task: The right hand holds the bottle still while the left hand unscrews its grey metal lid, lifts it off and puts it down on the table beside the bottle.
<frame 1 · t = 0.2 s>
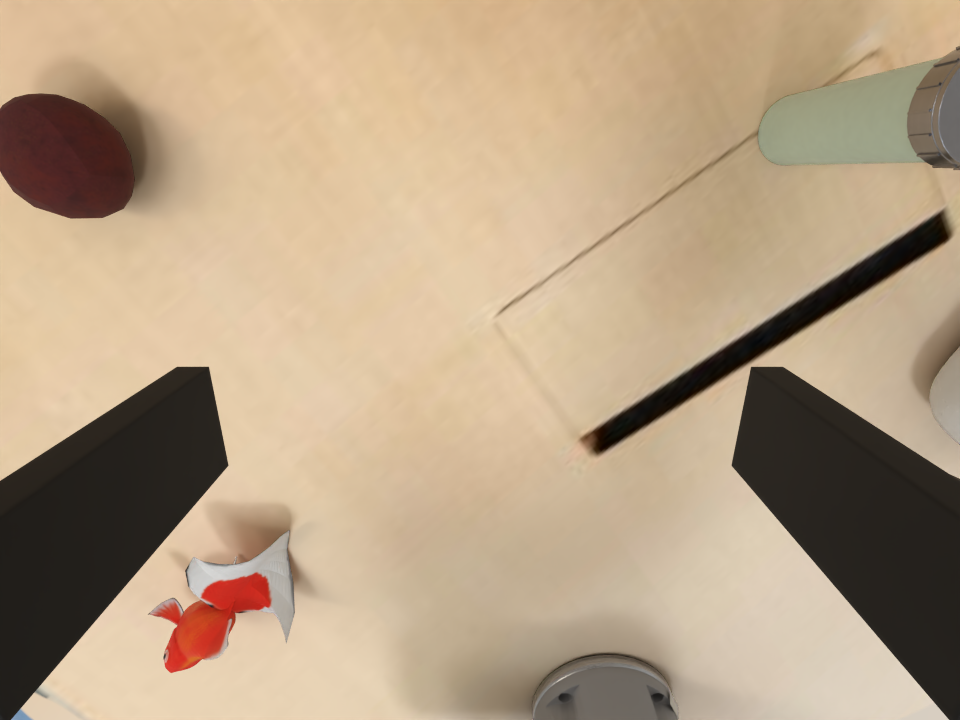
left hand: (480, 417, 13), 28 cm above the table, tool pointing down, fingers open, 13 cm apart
fish: (246, 566, 49), on the table
potato: (106, 162, 37), on the table
bottle: (790, 130, 36), on the table
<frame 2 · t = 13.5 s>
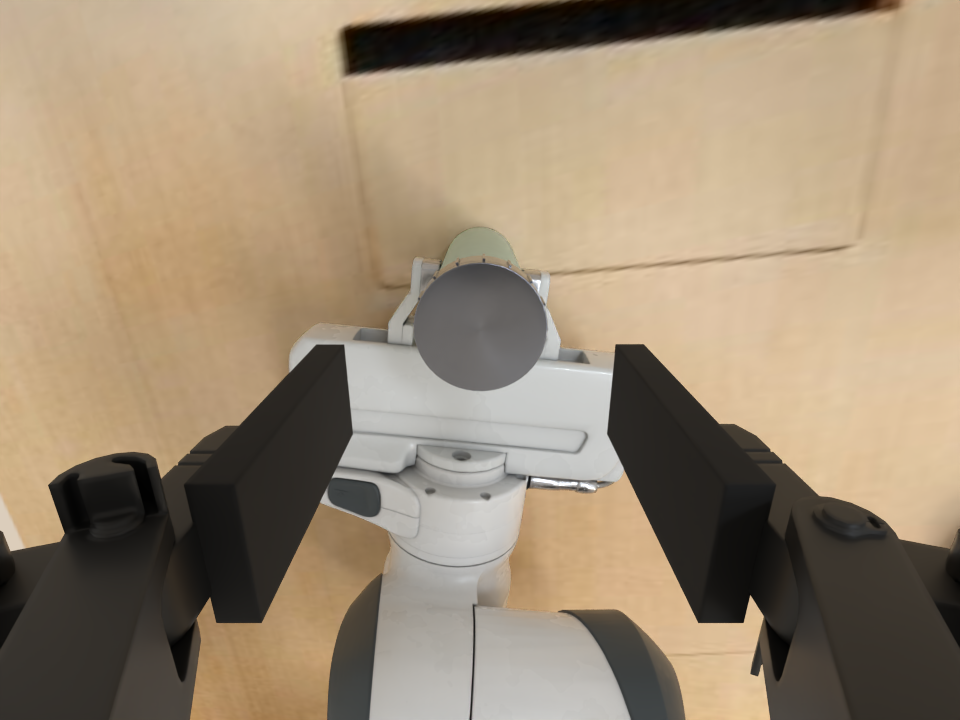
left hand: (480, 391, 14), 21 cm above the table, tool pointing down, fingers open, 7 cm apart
right hand: (481, 265, 28), fingers closed on bottle, 4 cm apart
lid: (480, 327, 20), point 15 cm above the table, screwed on, not yet turned
bottle: (480, 262, 34), on the table, touching right hand
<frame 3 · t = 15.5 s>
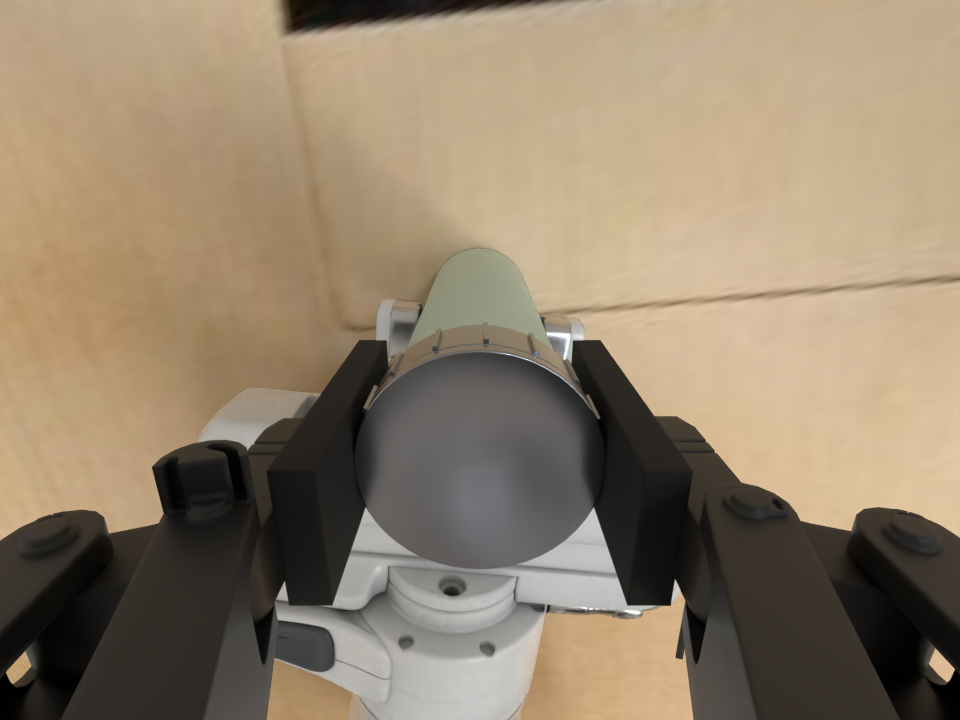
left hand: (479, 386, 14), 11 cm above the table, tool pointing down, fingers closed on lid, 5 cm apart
lid: (479, 460, 11), point 15 cm above the table, screwed on, not yet turned, touching left hand
bottle: (479, 295, 25), on the table, touching right hand
when the left hand's fingers open (11 cm above the table, at t = 16.8 s): lid stays where it is, point 15 cm above the table.
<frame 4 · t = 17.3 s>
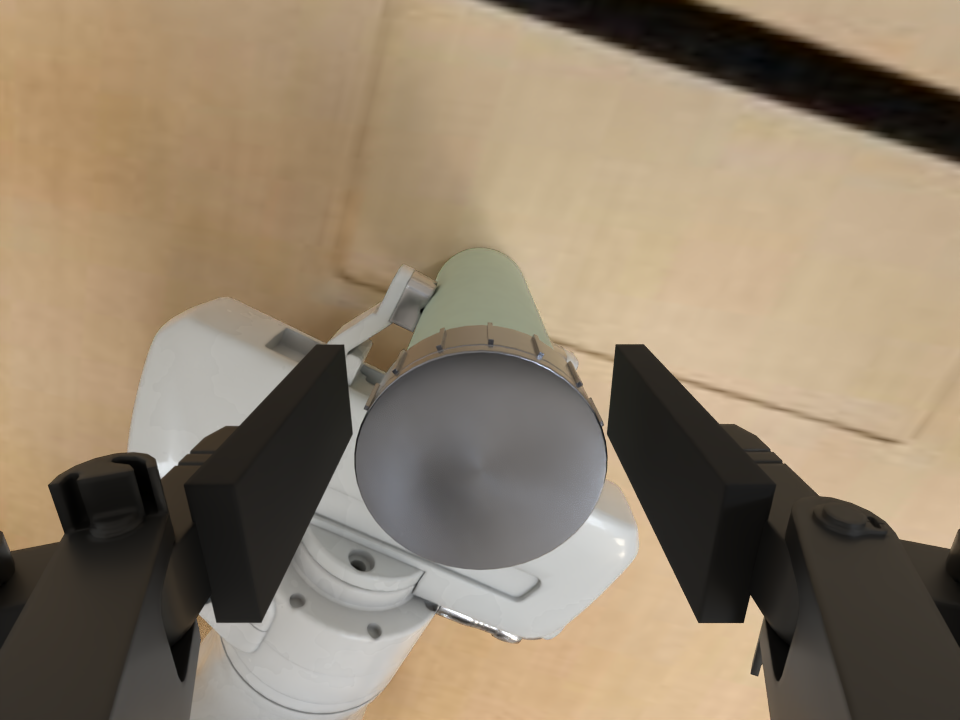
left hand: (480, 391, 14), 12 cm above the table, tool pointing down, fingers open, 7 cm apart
right hand: (490, 312, 19), fingers closed on bottle, 4 cm apart
lid: (480, 461, 11), point 15 cm above the table, turned 66° so far, risen 0.2 cm, still on its thread
bottle: (480, 294, 25), on the table, touching right hand
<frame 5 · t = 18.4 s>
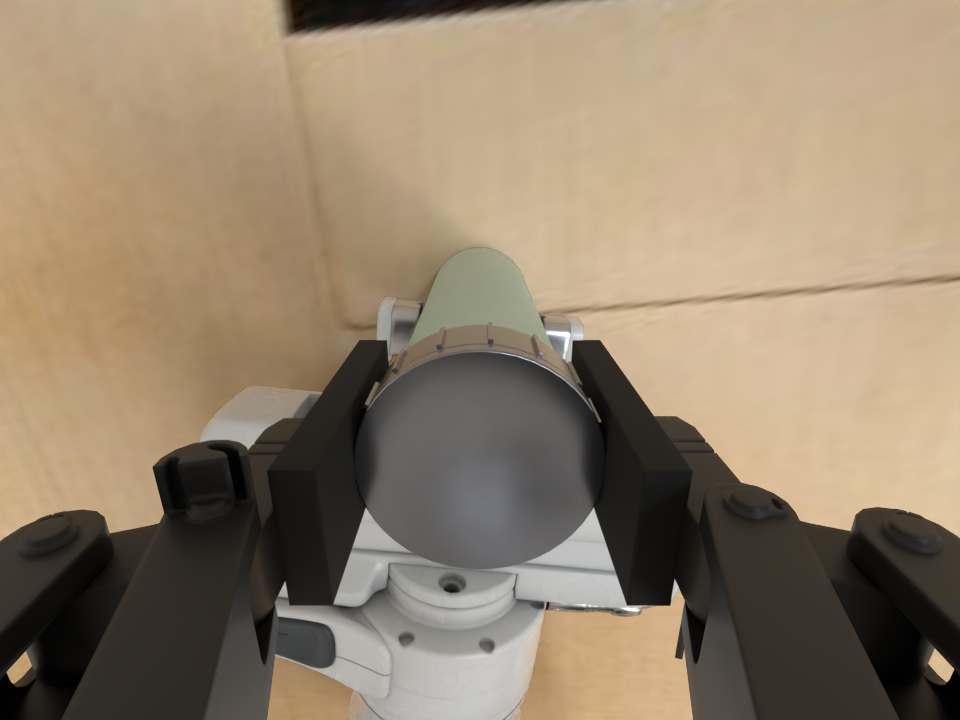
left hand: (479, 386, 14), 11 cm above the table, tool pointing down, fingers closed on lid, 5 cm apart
right hand: (481, 309, 19), fingers closed on bottle, 4 cm apart
lid: (479, 460, 11), point 15 cm above the table, turned 66° so far, risen 0.2 cm, still on its thread, touching left hand
bottle: (479, 294, 25), on the table, touching right hand
when the left hand's fingers open (0 cm above the table, at t = 24.2 s): lid drops 3 cm, point 1 cm above the table.
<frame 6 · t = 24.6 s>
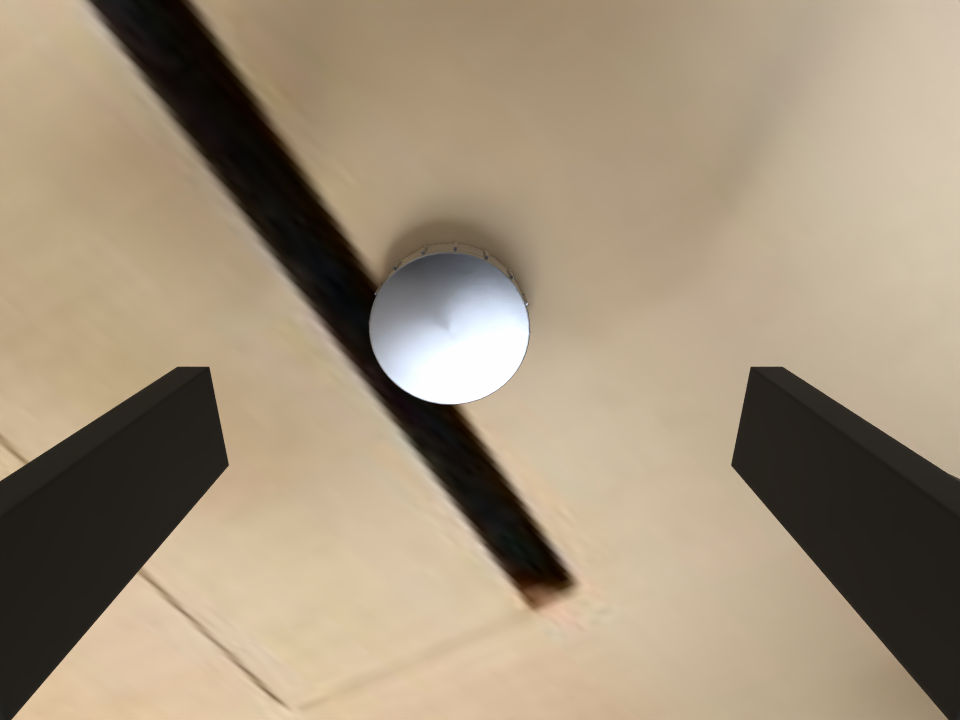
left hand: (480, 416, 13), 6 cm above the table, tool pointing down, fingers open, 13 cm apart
lid: (450, 329, 17), point 1 cm above the table, off its thread
when the right hand's fingers open (6 cm above the table, at t = 24.9 s): bottle stays where it is, on the table.
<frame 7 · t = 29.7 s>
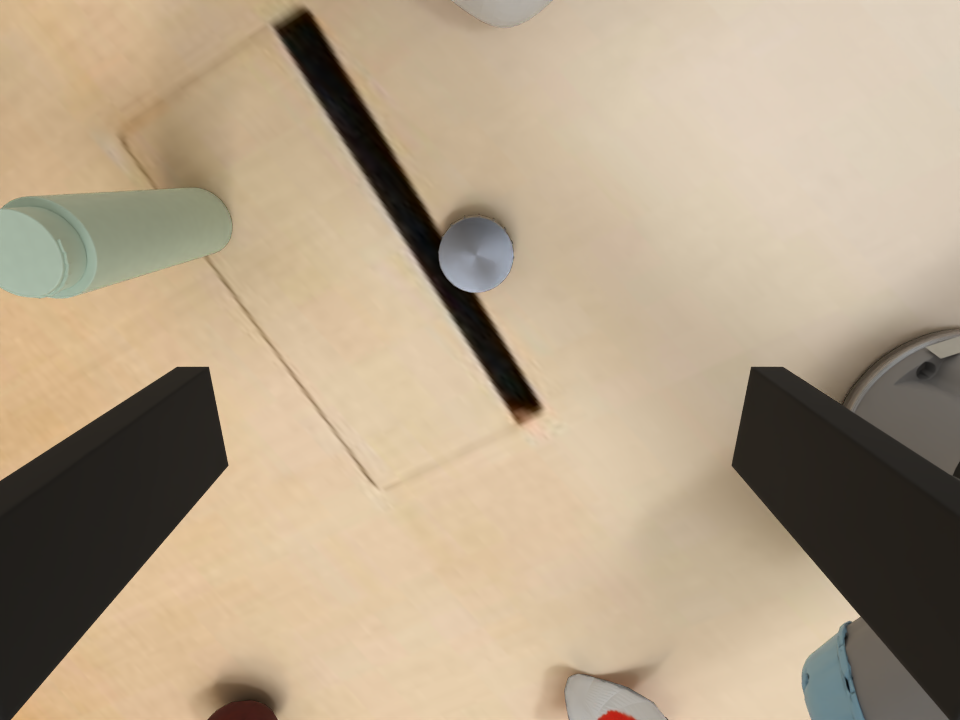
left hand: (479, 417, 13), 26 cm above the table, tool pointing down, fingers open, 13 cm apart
fish: (607, 707, 53), on the table
potato: (253, 706, 53), on the table
lid: (476, 255, 35), point 1 cm above the table, off its thread
bottle: (199, 221, 36), on the table
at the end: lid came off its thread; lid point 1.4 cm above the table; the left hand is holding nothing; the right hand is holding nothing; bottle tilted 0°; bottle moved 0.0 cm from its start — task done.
